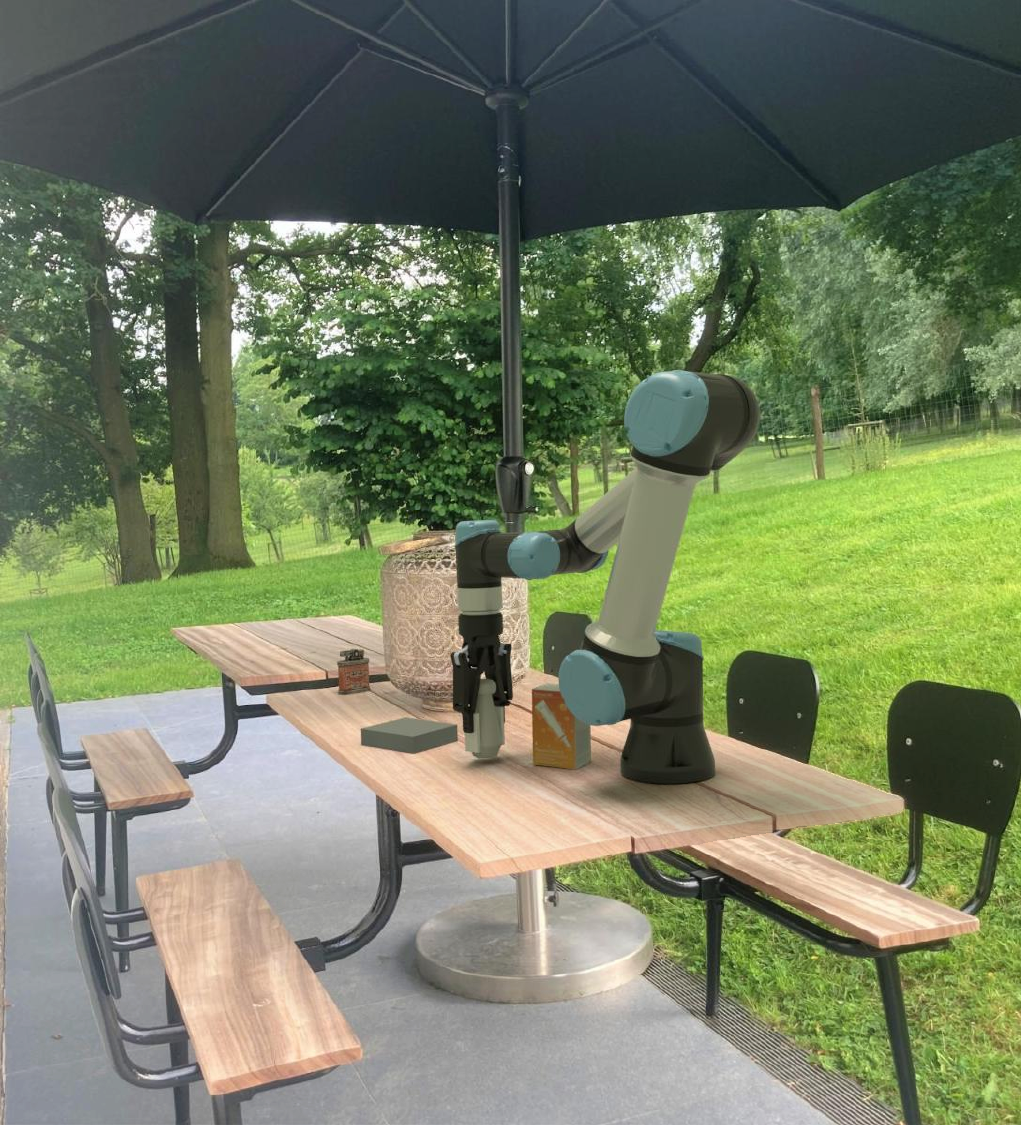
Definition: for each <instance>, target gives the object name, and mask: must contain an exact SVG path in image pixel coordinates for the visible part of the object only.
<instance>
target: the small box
mask: <svg viewBox="0 0 1021 1125" xmlns="http://www.w3.org/2000/svg"><path fill="white" fill-rule="evenodd" d="M531 716H532V717H531V720H532V722H531V725H532V726H531V727H532V728H531V729H532V737H531V738H532V764H533V765H535V766H544V767H552V768H560V769H569V770H573V771H575V770H578V769H580V768H581V767H584V766H585V765H587V764H589V763H590V762H591V761H592V749H591V748H592V745H591V744H592V743H591V742H592V739H591V730H592V729H591V725H588V724H585V723H583V722H581V721H580V720H578V719H577V718H576V717H575V716H574V715H573V714H572V713H571V712H570V711H569V709H568V708H567V706H566V705H565V700H564V699H563V697H562V696H561V693H560V689H559V683H549V682H548V683H544V684H542V685H539V686H537V687H533V688H532V689H531Z"/></svg>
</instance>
